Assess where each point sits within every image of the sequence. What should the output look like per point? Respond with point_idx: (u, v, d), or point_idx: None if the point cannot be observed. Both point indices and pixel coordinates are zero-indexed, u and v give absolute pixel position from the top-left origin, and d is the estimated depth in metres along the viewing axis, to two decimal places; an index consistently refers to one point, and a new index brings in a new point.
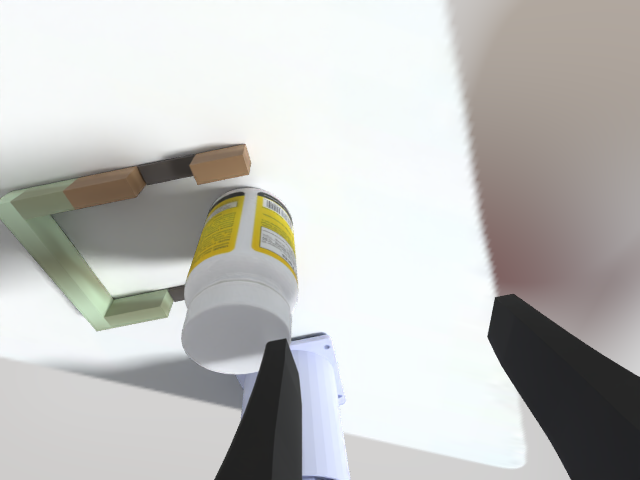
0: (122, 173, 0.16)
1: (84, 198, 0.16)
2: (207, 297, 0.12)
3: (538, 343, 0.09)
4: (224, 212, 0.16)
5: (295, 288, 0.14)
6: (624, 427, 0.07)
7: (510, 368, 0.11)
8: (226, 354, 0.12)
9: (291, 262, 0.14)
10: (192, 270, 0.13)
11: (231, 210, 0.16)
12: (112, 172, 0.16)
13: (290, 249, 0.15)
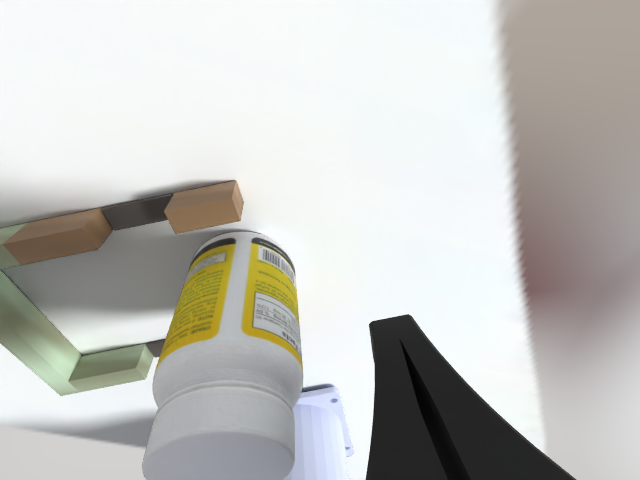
0: (80, 219, 0.13)
1: (31, 252, 0.12)
2: (178, 415, 0.08)
3: (413, 367, 0.09)
4: (209, 269, 0.12)
5: (299, 378, 0.11)
6: (458, 458, 0.07)
7: None
8: None
9: (294, 339, 0.11)
10: (162, 361, 0.10)
11: (217, 266, 0.12)
12: (69, 216, 0.13)
13: (292, 318, 0.12)
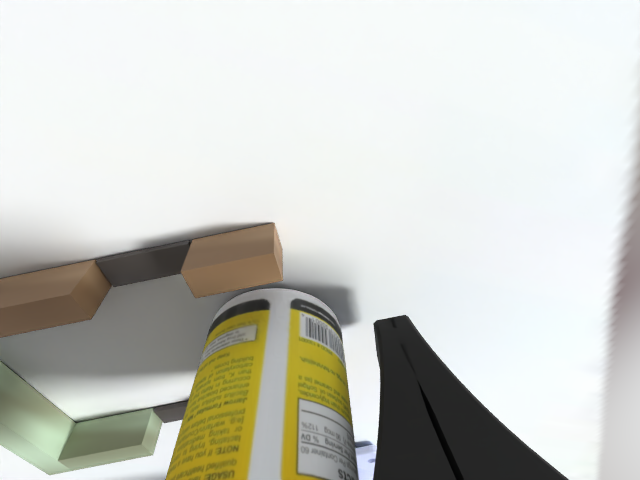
0: (67, 279, 0.09)
1: (1, 325, 0.09)
2: None
3: (409, 367, 0.09)
4: (234, 351, 0.09)
5: None
6: (452, 460, 0.07)
7: None
8: None
9: (353, 475, 0.08)
10: None
11: (246, 349, 0.09)
12: (53, 272, 0.10)
13: (348, 432, 0.08)
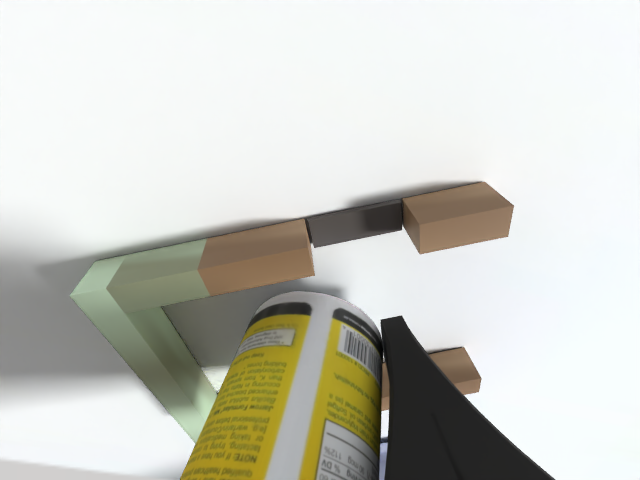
0: (290, 235, 0.09)
1: (230, 280, 0.09)
2: None
3: (402, 369, 0.09)
4: (269, 353, 0.09)
5: None
6: None
7: None
8: None
9: None
10: None
11: (280, 353, 0.09)
12: (266, 230, 0.10)
13: (373, 465, 0.08)
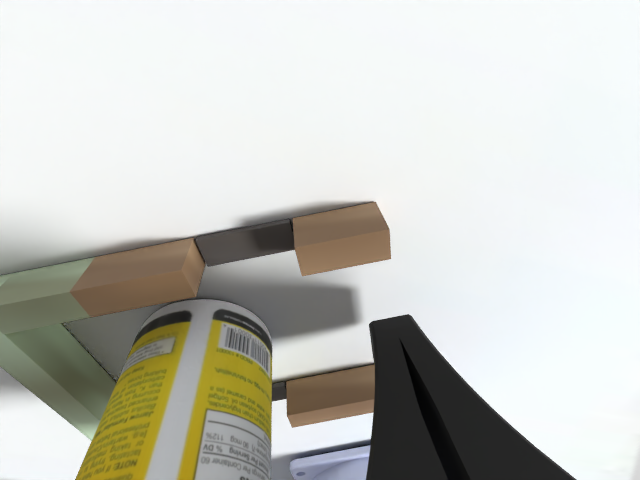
0: (172, 256, 0.09)
1: (107, 301, 0.09)
2: None
3: (413, 367, 0.09)
4: (149, 365, 0.09)
5: None
6: (458, 459, 0.07)
7: None
8: None
9: None
10: None
11: (160, 361, 0.09)
12: (153, 250, 0.10)
13: (260, 439, 0.09)
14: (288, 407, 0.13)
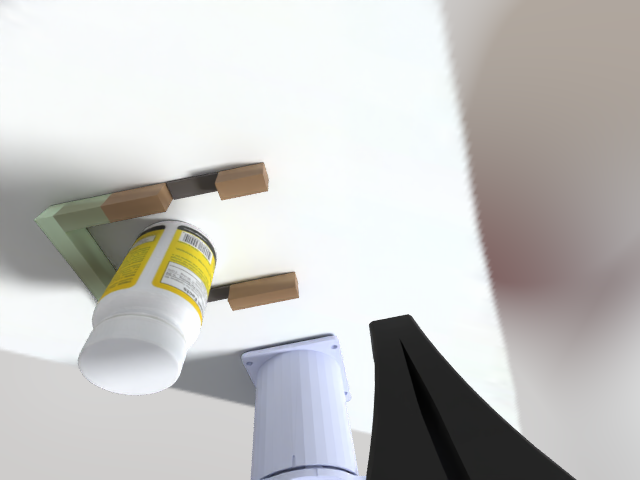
0: (153, 190, 0.18)
1: (119, 213, 0.17)
2: (100, 330, 0.13)
3: (413, 367, 0.09)
4: (141, 246, 0.17)
5: (194, 318, 0.16)
6: (458, 459, 0.07)
7: None
8: (122, 379, 0.14)
9: (194, 294, 0.16)
10: (98, 302, 0.15)
11: (147, 244, 0.17)
12: (143, 188, 0.18)
13: (198, 281, 0.17)
14: (229, 296, 0.22)
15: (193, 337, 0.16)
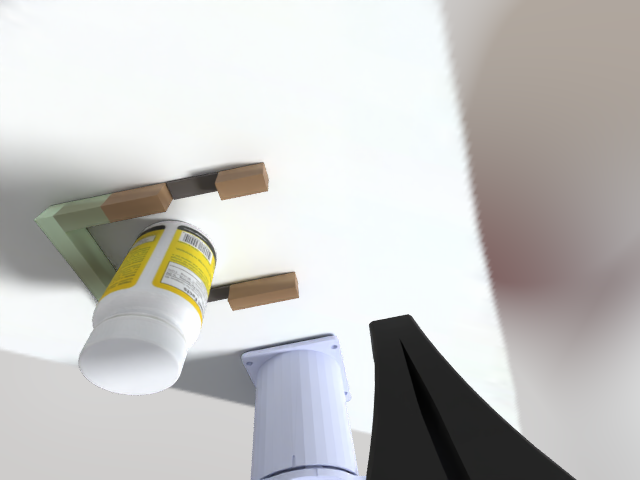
0: (153, 190, 0.18)
1: (119, 213, 0.17)
2: (101, 330, 0.13)
3: (413, 367, 0.09)
4: (141, 246, 0.17)
5: (194, 318, 0.16)
6: (458, 459, 0.07)
7: None
8: (123, 379, 0.14)
9: (194, 294, 0.16)
10: (98, 302, 0.15)
11: (147, 244, 0.17)
12: (143, 188, 0.18)
13: (198, 281, 0.17)
14: (229, 296, 0.22)
15: (193, 337, 0.16)
